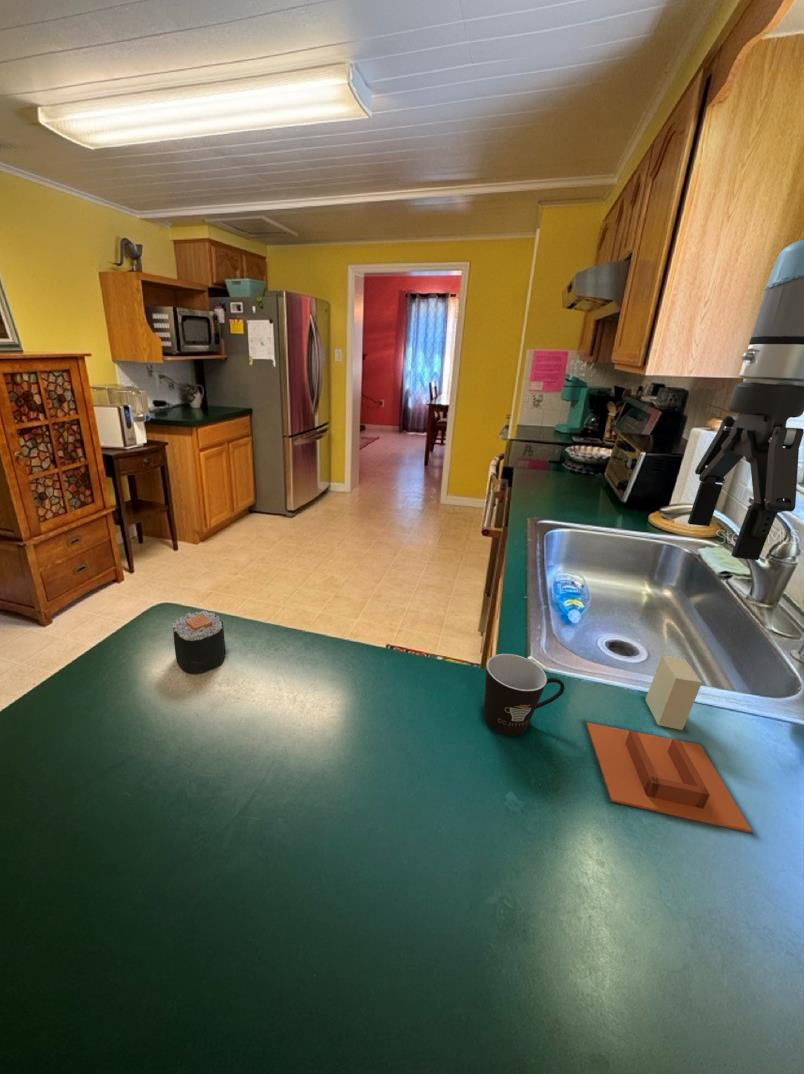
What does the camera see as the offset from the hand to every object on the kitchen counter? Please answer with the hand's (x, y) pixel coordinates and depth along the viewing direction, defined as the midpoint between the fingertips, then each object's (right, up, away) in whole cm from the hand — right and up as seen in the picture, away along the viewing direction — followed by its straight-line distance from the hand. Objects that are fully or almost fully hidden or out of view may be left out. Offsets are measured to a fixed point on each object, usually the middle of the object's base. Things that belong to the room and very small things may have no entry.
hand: (719, 540), depth 67 cm
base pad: (-9, -33, -1) cm, 34 cm away
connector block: (-2, -29, +10) cm, 31 cm away
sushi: (-79, -22, +17) cm, 84 cm away
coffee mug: (-27, -29, +6) cm, 40 cm away
